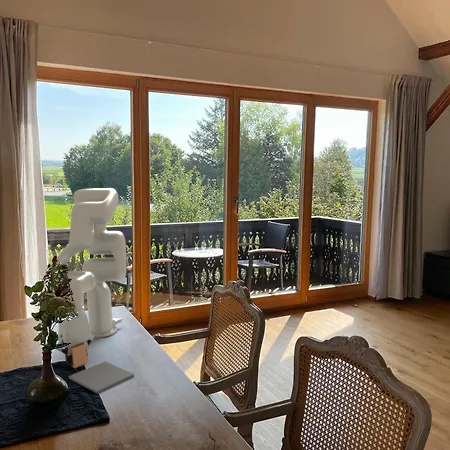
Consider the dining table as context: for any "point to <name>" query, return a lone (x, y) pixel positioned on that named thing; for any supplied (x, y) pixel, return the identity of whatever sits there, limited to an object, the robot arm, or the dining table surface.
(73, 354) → the block
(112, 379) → the mat
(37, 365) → the dining table surface
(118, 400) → the dining table surface
